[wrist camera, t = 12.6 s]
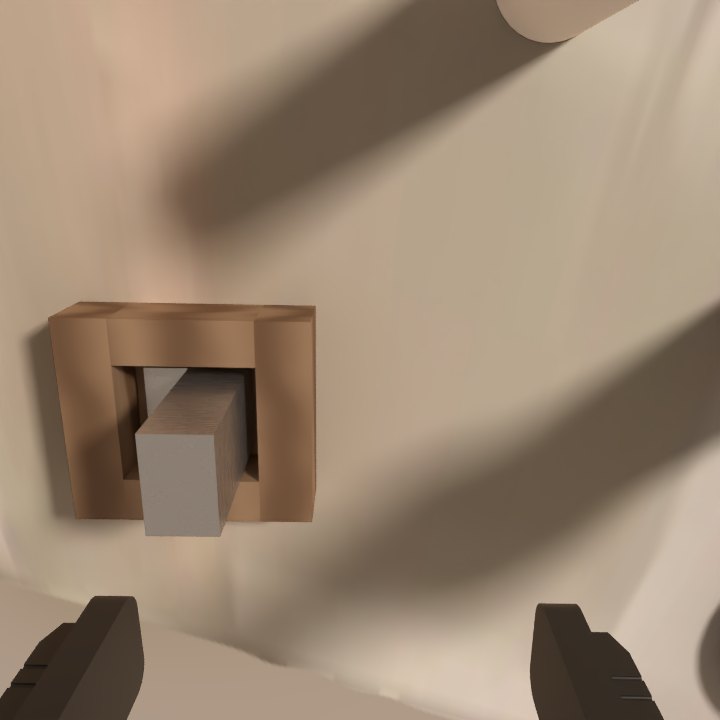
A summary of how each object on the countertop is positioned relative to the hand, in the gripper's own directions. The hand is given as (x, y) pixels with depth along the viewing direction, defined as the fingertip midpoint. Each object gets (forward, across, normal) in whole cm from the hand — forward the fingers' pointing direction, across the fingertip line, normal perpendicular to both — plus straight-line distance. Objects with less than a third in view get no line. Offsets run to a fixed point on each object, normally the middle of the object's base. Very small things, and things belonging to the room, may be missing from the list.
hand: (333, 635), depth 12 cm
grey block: (+31, +11, +7) cm, 33 cm away
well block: (+31, +11, +7) cm, 34 cm away
